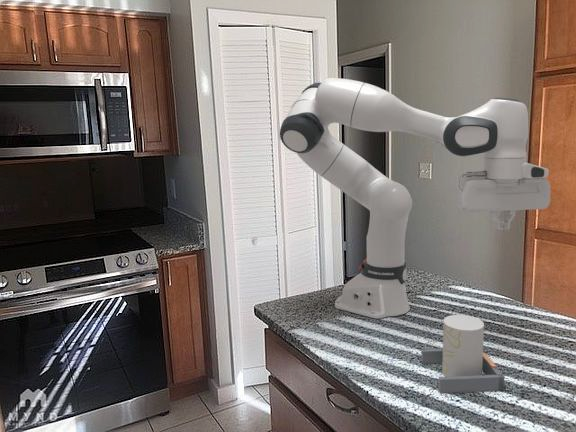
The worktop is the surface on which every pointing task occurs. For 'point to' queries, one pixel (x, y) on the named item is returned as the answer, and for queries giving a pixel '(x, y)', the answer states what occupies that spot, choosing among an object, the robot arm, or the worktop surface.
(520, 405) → the worktop surface
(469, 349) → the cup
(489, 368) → the bracket
